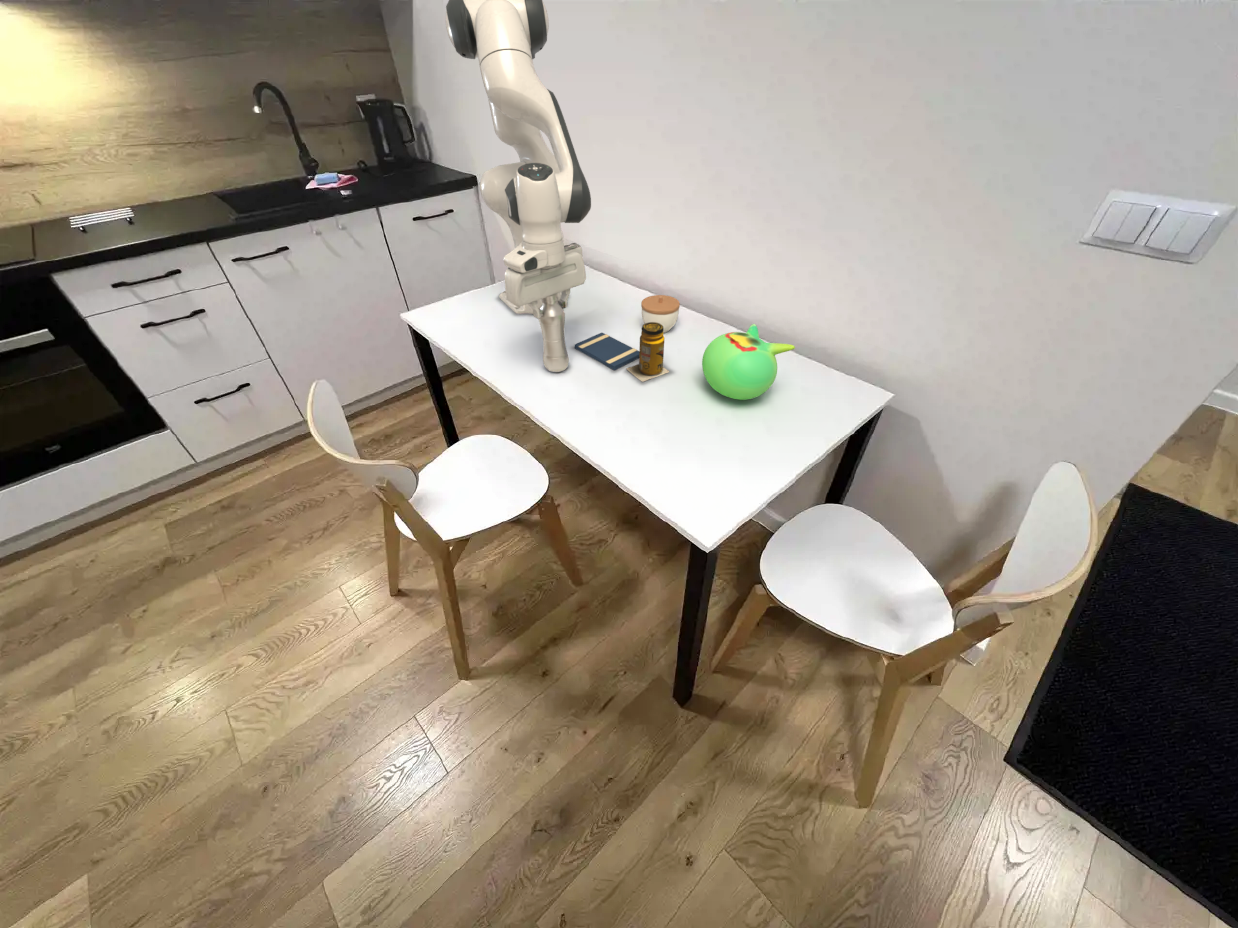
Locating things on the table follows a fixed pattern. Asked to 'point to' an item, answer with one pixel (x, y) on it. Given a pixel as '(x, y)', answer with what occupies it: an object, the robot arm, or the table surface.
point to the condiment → (650, 353)
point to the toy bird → (741, 364)
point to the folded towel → (608, 351)
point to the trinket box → (660, 310)
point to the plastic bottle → (553, 335)
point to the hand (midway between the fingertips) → (550, 312)
